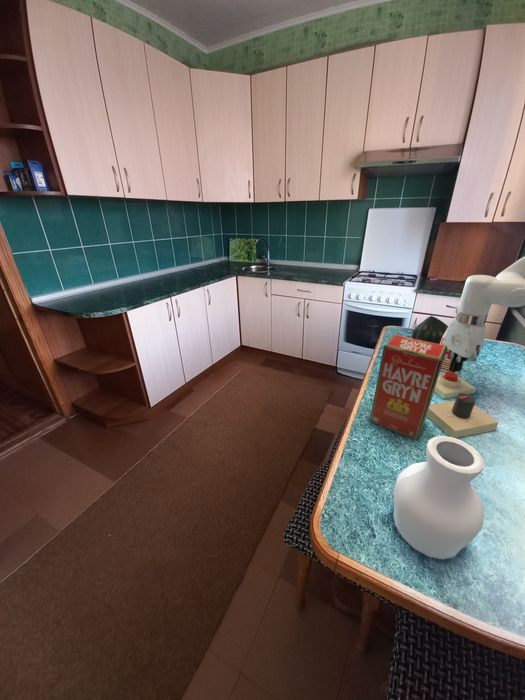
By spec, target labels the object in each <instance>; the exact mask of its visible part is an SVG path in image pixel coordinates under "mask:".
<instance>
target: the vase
mask: <svg viewBox="0 0 525 700" xmlns="http://www.w3.org/2000/svg"><path fill="white" fill-rule="evenodd" d="M425 456H426V461H420V462H415V463H412V464H410V465H408V466H407V467H406V468H404V469H402V471H401V472H399V474H398V476H397V479H396V481H395V485H394V487H393V493H392V494H393V496H392V497H393V507H394V508H393V519H394V524H395V527H396V529H397V531H398V532H399V534H400V536H401V537H402V539H403V540H404V541H406V542H407V544H408V545H410V546H411V548H412V549H415V550H416V551H418V552H419V553H421V554H423V555H425V556H426V557H429V558H434V559H438V560H446V559H450V558H454V557H456V555H457V554H459V552H460V551H461V550H462V549H464V548H465V547H467V546H468V545H470V543H472V542H473V540H475V538H476V537H477V536H478V535H479V534H480V533H481V531H482V529H483V526H484V516H485V515H484V514H485V513H484V511H485V510H484V505H483V502H482V499H481V498H480V495H479V493H478V492H477V490H476V488H475V486H474V485H473V483H471V482H472V481H473V480H475V479H477V477H478V476H479V475H480V474H482V472H483V471H484V467H485V460H484V459H483V457H482V455H481V454H480V452H479V451H478V450H477V449H475V448H474V447H473V446H472V445H471V444H469V443H467V442H465V441H464V440H461V439H458V438H453V437H450V436H448V435H447V436H445V435H438V436H433V437H432V438H430V439H429V440H428V441H427V444H426V448H425Z"/></svg>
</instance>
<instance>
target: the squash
mask: <svg viewBox="0 0 525 700" xmlns="http://www.w3.org/2000/svg"><path fill="white" fill-rule="evenodd" d="M448 326H449V325H448V324H446V323H445V322H444V321H442V320H441V319H439V318H438V317H435V316H433V315H430V316H428V317H426V318H425V319H424V320H423V321H422V322H420V323H419V324H417V325H416V327H415V328H413V331H412V333H411V338H413V339H417V340H422V341H426V342H431V343H436V344H440V341H441V339H442V337H443V335H444V333H445V332H446V330H447V328H448Z"/></svg>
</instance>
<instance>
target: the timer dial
mask: <svg viewBox="0 0 525 700" xmlns="http://www.w3.org/2000/svg"><path fill="white" fill-rule="evenodd" d="M454 401H455V403H454V406H453V408H452V413H453V414H454V415H456V416H457V417H460V418H469V417H470V415H471V412H472V410H473V407H474V405H475V406H476V403H477V399H476V397H475V396H473V395H472V394H466V393H459V394H458V395H457V396H456V398H455V400H454Z"/></svg>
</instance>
